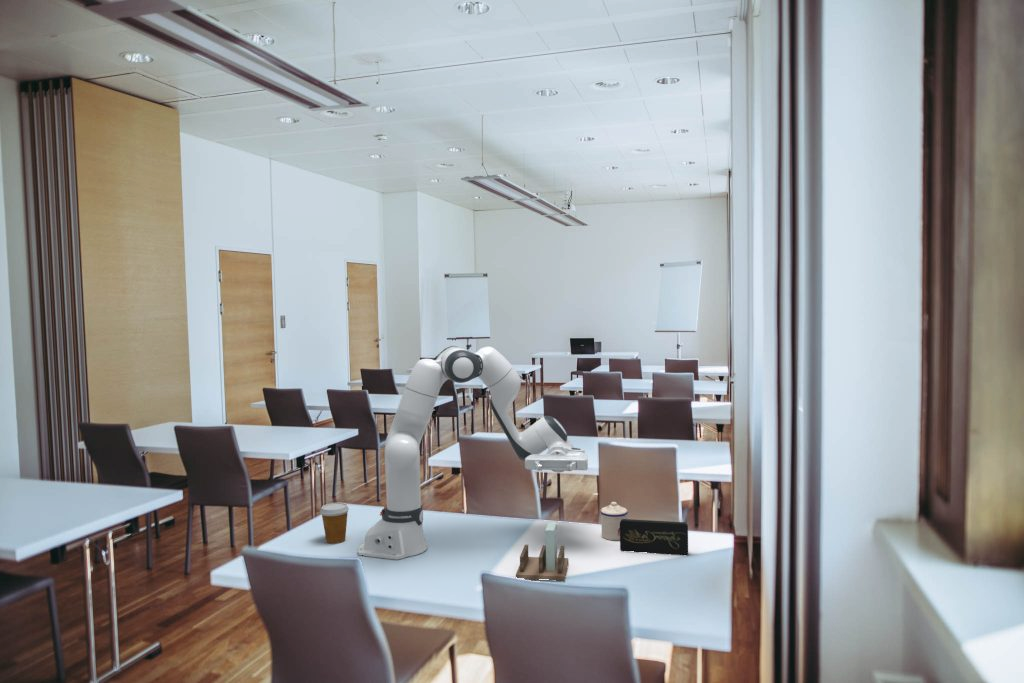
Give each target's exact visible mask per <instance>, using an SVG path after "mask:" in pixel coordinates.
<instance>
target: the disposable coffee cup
mask: <svg viewBox="0 0 1024 683" xmlns="http://www.w3.org/2000/svg"><path fill="white" fill-rule="evenodd" d="M349 510H350V508H349V506H348V503H345V502H332V503H331V502H330V503H326V504H323V505H322V506H321V508H320V510H319V511H320V512H319V513H320V515H321V517H322V518H321V519H322V523H323V530H324V535H325V541H326V543H327V544H332V545H333V544H334V545H335V544H340V543H343V542H345V541H346V535H347V534H346V533H347V526H348V525H347V522H348V512H349Z"/></svg>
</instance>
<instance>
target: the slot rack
mask: <svg viewBox="0 0 1024 683" xmlns="http://www.w3.org/2000/svg"><path fill="white" fill-rule="evenodd" d="M538 555H539V556H529V544H524V546H523V548H522V551H521V553H520V556H519V565H518V568H517V570H516V573H515V578H516V577H517V578H524V579H529V580H528V581H537V580H539V579H549V580H556V581H555V582H561V581H563V583H565V580H566V577H565V576H567V572H568V568H567V567H569V557H565V545H560V548H559V551H558V554H557V566H556V569H555V571H546V544H545V545H544V544H542V546H541V549H540V552H539V554H538ZM539 581H540V582H541V581H542V582H543V581H544V582H548V581H547V580H539Z"/></svg>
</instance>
